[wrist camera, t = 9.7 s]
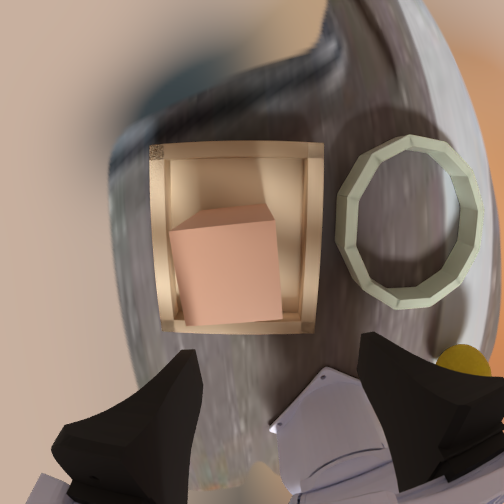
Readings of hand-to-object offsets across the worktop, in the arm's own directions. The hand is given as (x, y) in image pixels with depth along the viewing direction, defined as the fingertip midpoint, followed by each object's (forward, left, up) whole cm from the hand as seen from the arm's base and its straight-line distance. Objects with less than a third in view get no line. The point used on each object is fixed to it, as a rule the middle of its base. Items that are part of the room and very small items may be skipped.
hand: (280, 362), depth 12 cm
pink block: (+2, +4, -9) cm, 10 cm away
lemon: (+2, -20, -11) cm, 23 cm away
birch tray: (+2, +4, -10) cm, 11 cm away
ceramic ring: (+10, -7, -10) cm, 16 cm away
